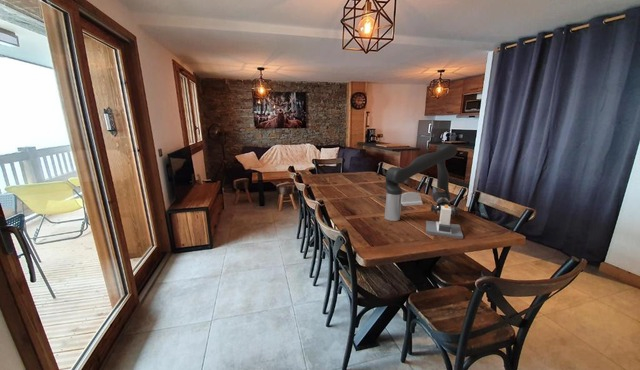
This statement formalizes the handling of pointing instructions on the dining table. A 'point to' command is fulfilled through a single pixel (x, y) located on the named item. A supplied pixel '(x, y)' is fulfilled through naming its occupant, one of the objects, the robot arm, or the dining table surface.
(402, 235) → the dining table surface
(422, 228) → the dining table surface
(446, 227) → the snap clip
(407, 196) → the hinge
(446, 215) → the module
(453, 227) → the mounting plate
